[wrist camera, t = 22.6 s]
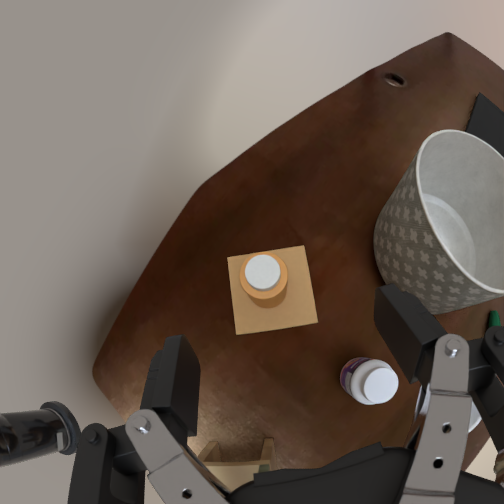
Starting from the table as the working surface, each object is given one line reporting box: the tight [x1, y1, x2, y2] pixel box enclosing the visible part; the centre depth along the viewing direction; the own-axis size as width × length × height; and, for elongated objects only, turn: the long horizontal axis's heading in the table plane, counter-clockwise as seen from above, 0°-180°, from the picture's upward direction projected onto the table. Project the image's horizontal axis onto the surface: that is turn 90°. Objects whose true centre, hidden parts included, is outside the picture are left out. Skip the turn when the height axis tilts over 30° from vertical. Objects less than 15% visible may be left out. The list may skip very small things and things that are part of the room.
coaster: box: [228, 245, 318, 335], centre depth 38 cm, size 11×11×1 cm
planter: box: [373, 130, 504, 315], centre depth 28 cm, size 19×19×18 cm
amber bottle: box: [239, 252, 288, 308], centre depth 33 cm, size 5×5×10 cm
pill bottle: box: [340, 357, 398, 405], centre depth 28 cm, size 5×5×10 cm
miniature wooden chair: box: [197, 438, 278, 491], centre depth 23 cm, size 9×9×16 cm
